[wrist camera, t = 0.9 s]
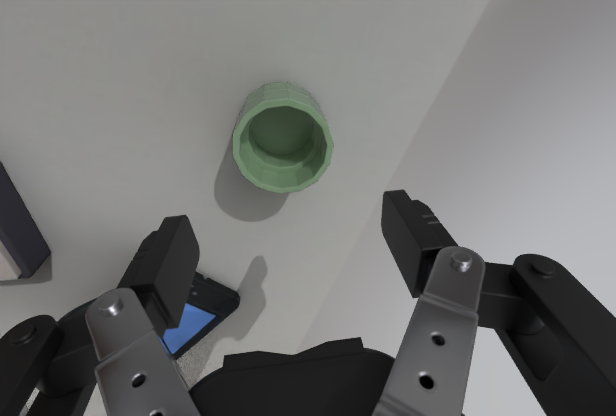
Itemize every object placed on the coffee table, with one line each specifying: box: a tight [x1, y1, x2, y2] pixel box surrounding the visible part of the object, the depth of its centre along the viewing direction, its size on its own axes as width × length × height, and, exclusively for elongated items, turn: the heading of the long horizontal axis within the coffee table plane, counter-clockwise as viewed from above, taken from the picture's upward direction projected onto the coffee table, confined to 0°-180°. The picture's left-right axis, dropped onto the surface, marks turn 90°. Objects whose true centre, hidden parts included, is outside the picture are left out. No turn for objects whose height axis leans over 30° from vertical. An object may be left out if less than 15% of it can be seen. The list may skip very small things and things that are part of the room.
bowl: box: [233, 82, 334, 193], centre depth 20 cm, size 6×6×5 cm
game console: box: [57, 272, 240, 360], centre depth 28 cm, size 16×14×9 cm
